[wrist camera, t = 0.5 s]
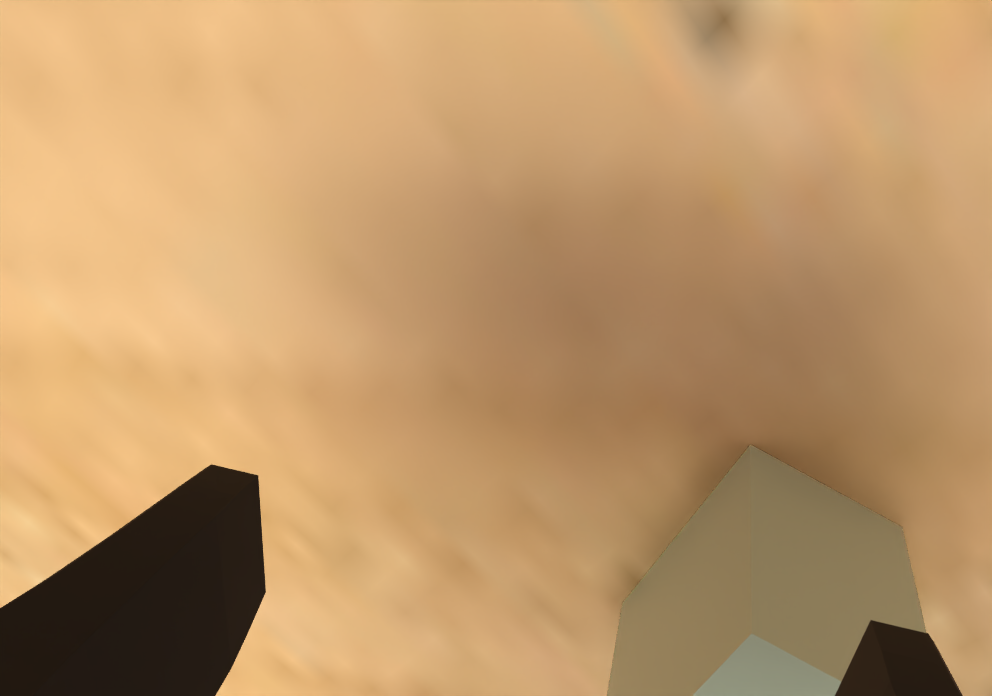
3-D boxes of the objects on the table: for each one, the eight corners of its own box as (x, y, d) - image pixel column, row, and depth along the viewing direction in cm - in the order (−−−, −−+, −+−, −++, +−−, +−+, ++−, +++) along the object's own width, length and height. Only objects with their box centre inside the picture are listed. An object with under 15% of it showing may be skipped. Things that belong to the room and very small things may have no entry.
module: (755, 673, 25) (757, 893, 19) (622, 602, 25) (589, 803, 19) (901, 525, 22) (951, 740, 16) (750, 443, 21) (751, 633, 16)
